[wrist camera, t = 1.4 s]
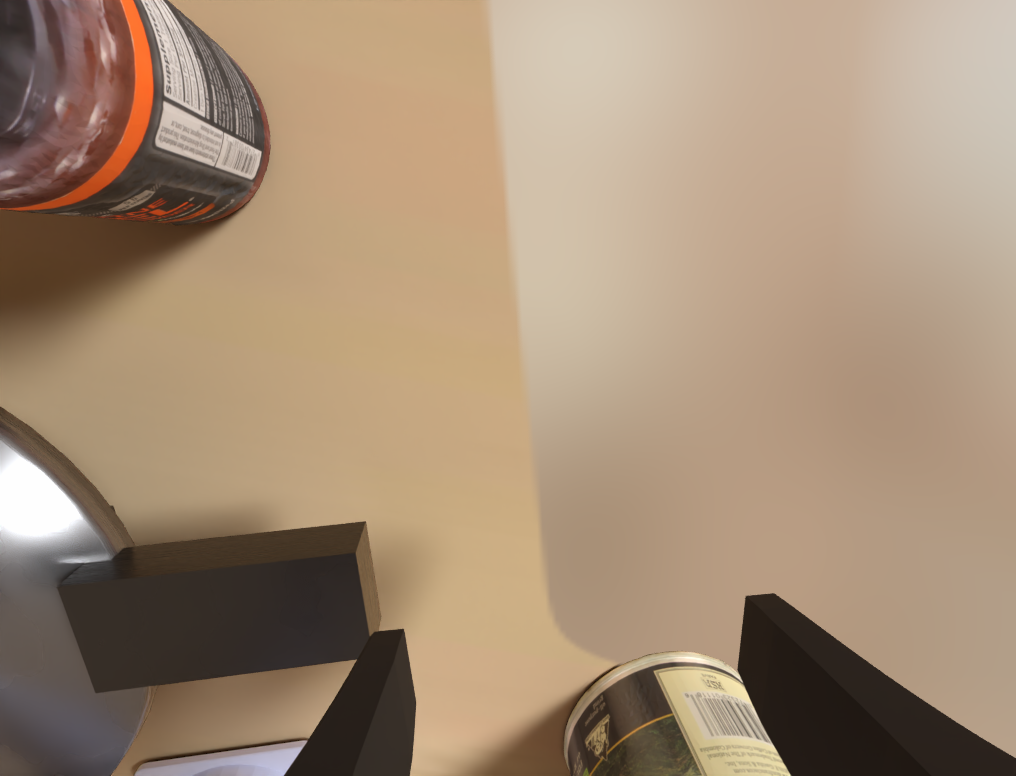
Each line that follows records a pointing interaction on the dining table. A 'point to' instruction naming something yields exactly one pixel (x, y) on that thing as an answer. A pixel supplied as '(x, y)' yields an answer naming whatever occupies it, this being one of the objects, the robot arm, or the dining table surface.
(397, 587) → the dining table surface
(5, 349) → the dining table surface
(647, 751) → the coffee can
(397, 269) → the dining table surface
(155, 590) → the cooker lid
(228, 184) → the supplement bottle
